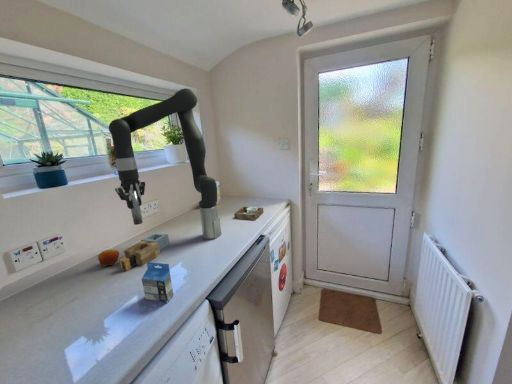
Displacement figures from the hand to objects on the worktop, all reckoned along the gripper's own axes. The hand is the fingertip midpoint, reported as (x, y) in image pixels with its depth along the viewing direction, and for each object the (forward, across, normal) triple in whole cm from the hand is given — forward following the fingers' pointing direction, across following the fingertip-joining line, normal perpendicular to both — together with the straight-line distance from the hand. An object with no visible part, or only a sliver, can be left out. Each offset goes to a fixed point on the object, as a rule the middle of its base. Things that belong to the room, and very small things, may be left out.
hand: (135, 206), depth 101 cm
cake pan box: (+26, +81, +12) cm, 86 cm away
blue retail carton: (+25, -20, -28) cm, 43 cm away
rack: (+25, +10, +3) cm, 27 cm away
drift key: (+25, -7, 0) cm, 26 cm away
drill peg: (+8, 0, 0) cm, 8 cm away
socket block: (+25, -1, 0) cm, 25 cm away
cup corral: (+25, +64, -26) cm, 73 cm away
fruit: (+25, -9, +12) cm, 29 cm away
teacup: (+26, +65, -28) cm, 76 cm away
